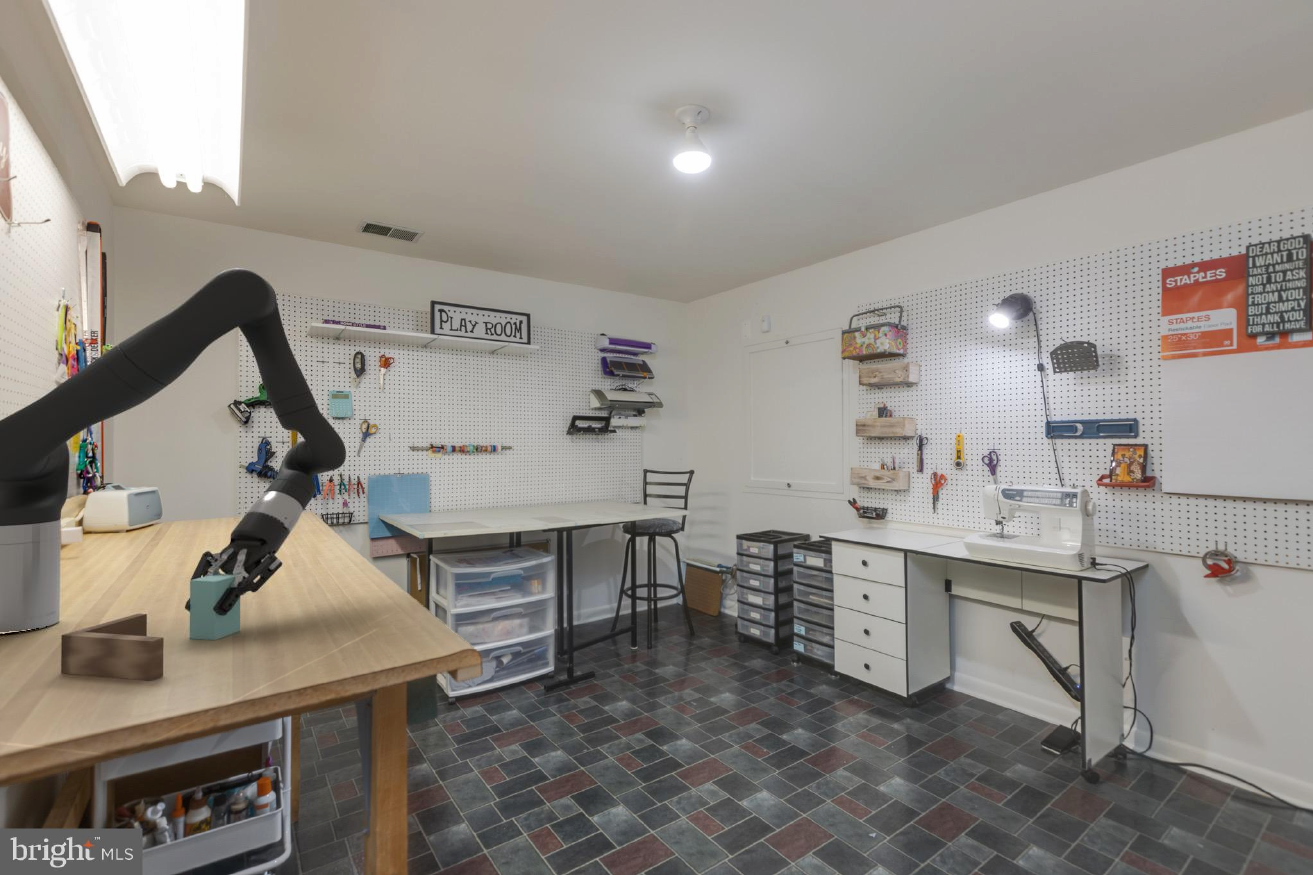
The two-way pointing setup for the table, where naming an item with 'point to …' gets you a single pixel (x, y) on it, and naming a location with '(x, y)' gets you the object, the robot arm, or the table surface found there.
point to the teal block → (211, 608)
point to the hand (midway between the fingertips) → (204, 611)
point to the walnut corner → (114, 650)
